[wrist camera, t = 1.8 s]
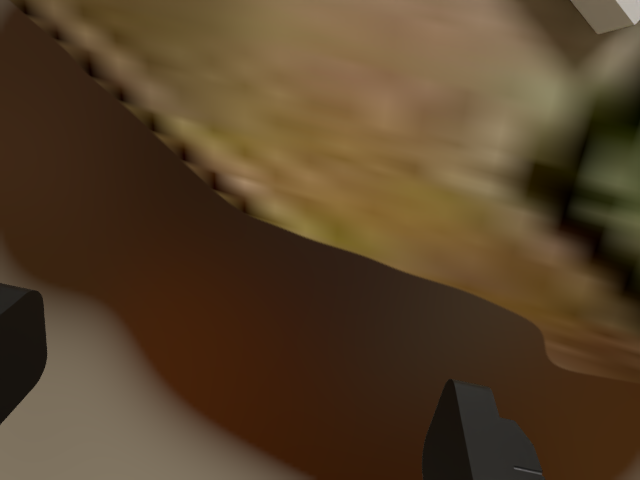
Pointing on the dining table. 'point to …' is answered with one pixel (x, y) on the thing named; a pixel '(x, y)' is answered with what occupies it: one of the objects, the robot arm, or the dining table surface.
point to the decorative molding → (609, 13)
